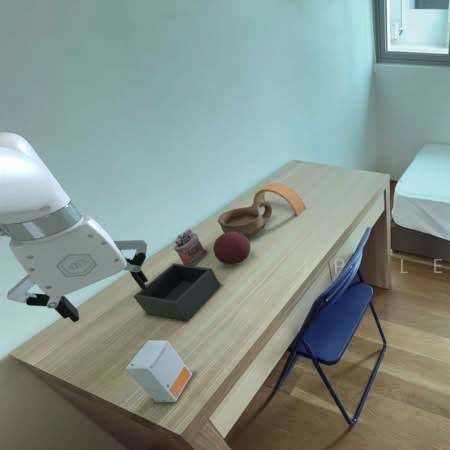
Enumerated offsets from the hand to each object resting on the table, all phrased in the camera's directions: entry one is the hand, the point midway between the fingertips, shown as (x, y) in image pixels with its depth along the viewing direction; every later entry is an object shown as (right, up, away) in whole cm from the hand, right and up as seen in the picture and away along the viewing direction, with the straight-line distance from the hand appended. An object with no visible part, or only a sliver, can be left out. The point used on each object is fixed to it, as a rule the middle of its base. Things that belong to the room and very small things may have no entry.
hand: (111, 300), depth 55 cm
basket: (-7, -7, +29) cm, 31 cm away
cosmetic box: (+5, -20, +9) cm, 23 cm away
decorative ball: (0, +2, +42) cm, 42 cm away
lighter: (-14, +2, +43) cm, 46 cm away
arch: (+4, +20, +68) cm, 70 cm away
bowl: (-2, +12, +56) cm, 57 cm away
